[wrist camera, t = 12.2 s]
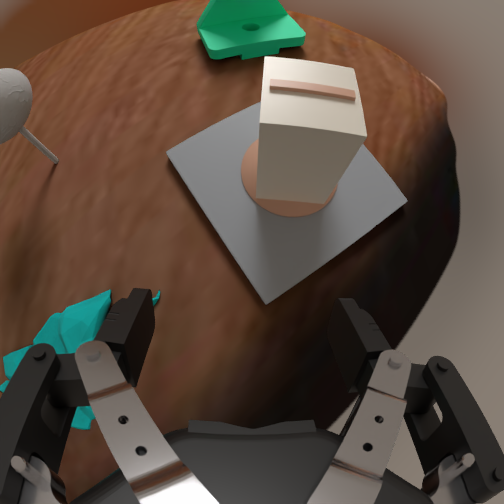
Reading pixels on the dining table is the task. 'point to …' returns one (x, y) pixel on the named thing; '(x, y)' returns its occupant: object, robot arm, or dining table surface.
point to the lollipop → (17, 108)
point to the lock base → (278, 205)
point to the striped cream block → (306, 129)
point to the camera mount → (247, 28)
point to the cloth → (69, 340)
